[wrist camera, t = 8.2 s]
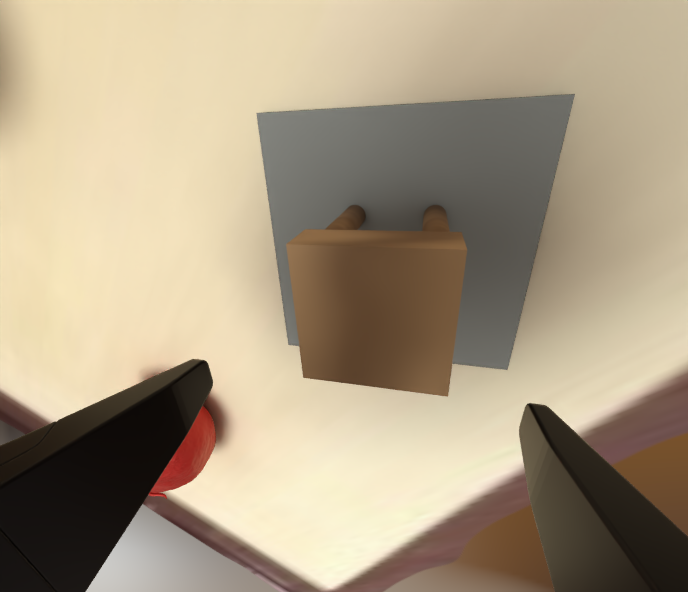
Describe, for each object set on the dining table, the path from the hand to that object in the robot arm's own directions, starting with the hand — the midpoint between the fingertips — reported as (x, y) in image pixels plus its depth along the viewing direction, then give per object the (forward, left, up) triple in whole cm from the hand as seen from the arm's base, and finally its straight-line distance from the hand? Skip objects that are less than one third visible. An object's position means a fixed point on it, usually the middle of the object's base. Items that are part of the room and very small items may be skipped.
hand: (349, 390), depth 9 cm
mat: (0, 0, -12) cm, 12 cm away
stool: (0, 0, -11) cm, 11 cm away
